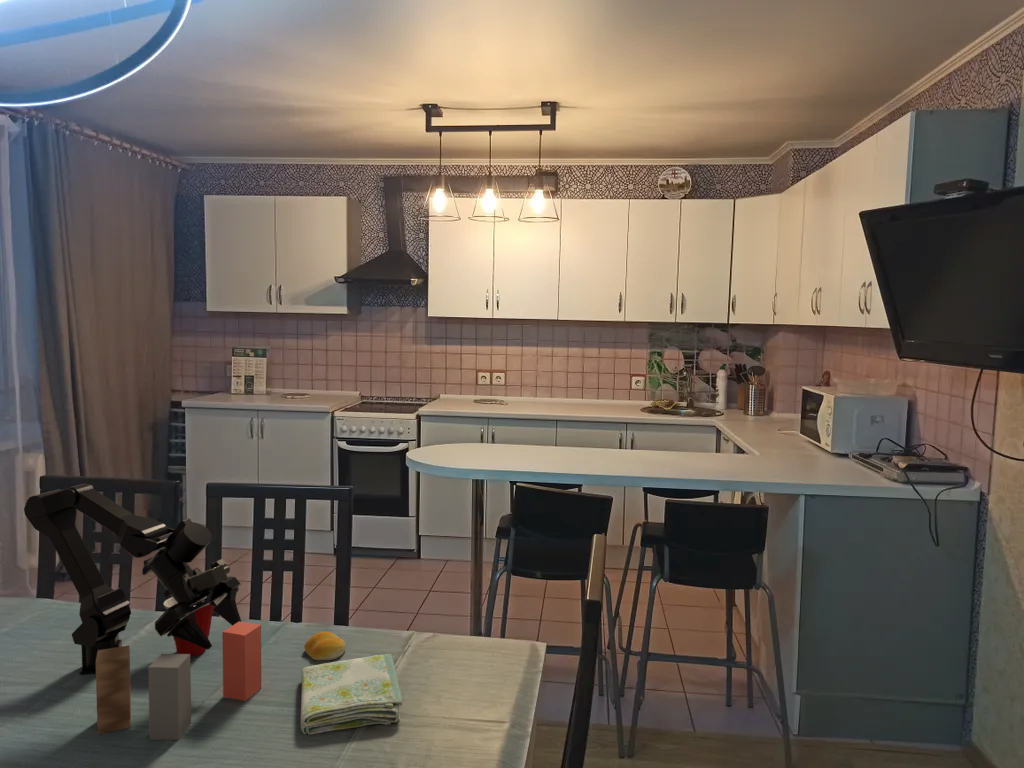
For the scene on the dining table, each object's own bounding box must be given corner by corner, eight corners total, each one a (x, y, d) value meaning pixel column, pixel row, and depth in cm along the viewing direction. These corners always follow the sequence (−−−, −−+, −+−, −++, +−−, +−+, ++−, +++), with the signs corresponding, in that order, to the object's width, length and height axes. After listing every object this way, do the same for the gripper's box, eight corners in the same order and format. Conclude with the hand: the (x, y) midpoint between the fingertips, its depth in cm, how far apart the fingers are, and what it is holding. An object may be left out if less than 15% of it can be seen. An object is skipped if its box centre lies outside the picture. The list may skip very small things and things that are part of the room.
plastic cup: (214, 636, 164) (213, 585, 163) (222, 655, 155) (222, 601, 154) (161, 646, 159) (160, 593, 158) (167, 667, 150) (166, 611, 149)
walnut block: (97, 734, 125) (95, 662, 124) (99, 719, 130) (97, 650, 129) (130, 727, 128) (128, 657, 126) (131, 713, 132) (129, 645, 131)
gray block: (149, 739, 124) (148, 667, 123) (163, 723, 129) (161, 653, 128) (178, 739, 124) (177, 667, 123) (191, 723, 129) (190, 654, 128)
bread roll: (318, 666, 152) (317, 647, 152) (299, 650, 159) (299, 633, 159) (353, 654, 157) (353, 637, 157) (334, 640, 164) (334, 623, 164)
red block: (223, 696, 139) (222, 631, 137) (239, 684, 143) (239, 621, 142) (245, 701, 137) (244, 635, 136) (261, 688, 142) (261, 624, 141)
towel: (299, 740, 126) (299, 712, 125) (301, 681, 146) (301, 657, 146) (403, 727, 130) (404, 700, 130) (391, 671, 151) (392, 648, 150)
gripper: (165, 566, 131) (218, 633, 129) (232, 537, 149) (279, 595, 147) (131, 603, 134) (182, 668, 132) (200, 570, 152) (246, 627, 150)
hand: (226, 637), depth 140 cm, fingers open, 9 cm apart
